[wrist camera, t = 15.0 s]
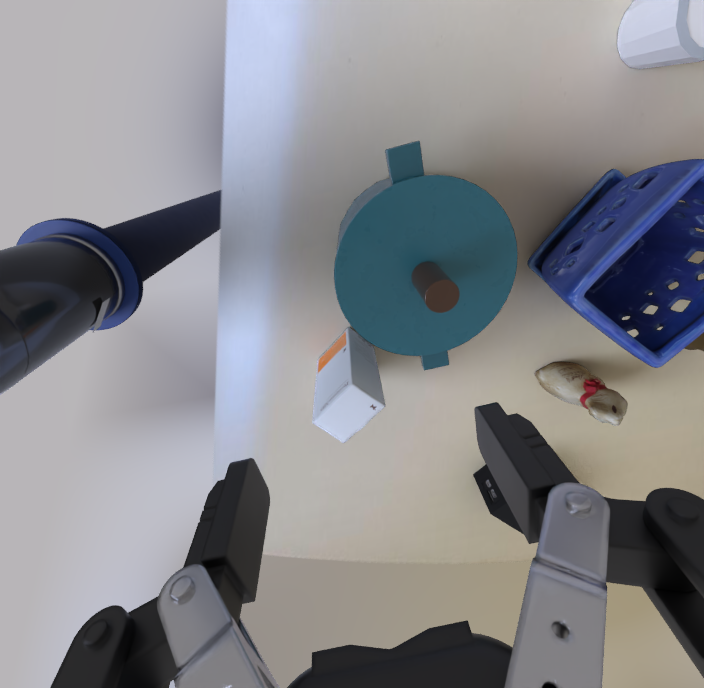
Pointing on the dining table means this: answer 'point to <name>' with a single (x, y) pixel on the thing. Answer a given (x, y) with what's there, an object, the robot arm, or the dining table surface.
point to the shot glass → (662, 33)
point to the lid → (425, 265)
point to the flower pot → (633, 258)
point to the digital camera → (495, 498)
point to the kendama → (697, 343)
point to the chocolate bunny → (583, 391)
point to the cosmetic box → (347, 387)
